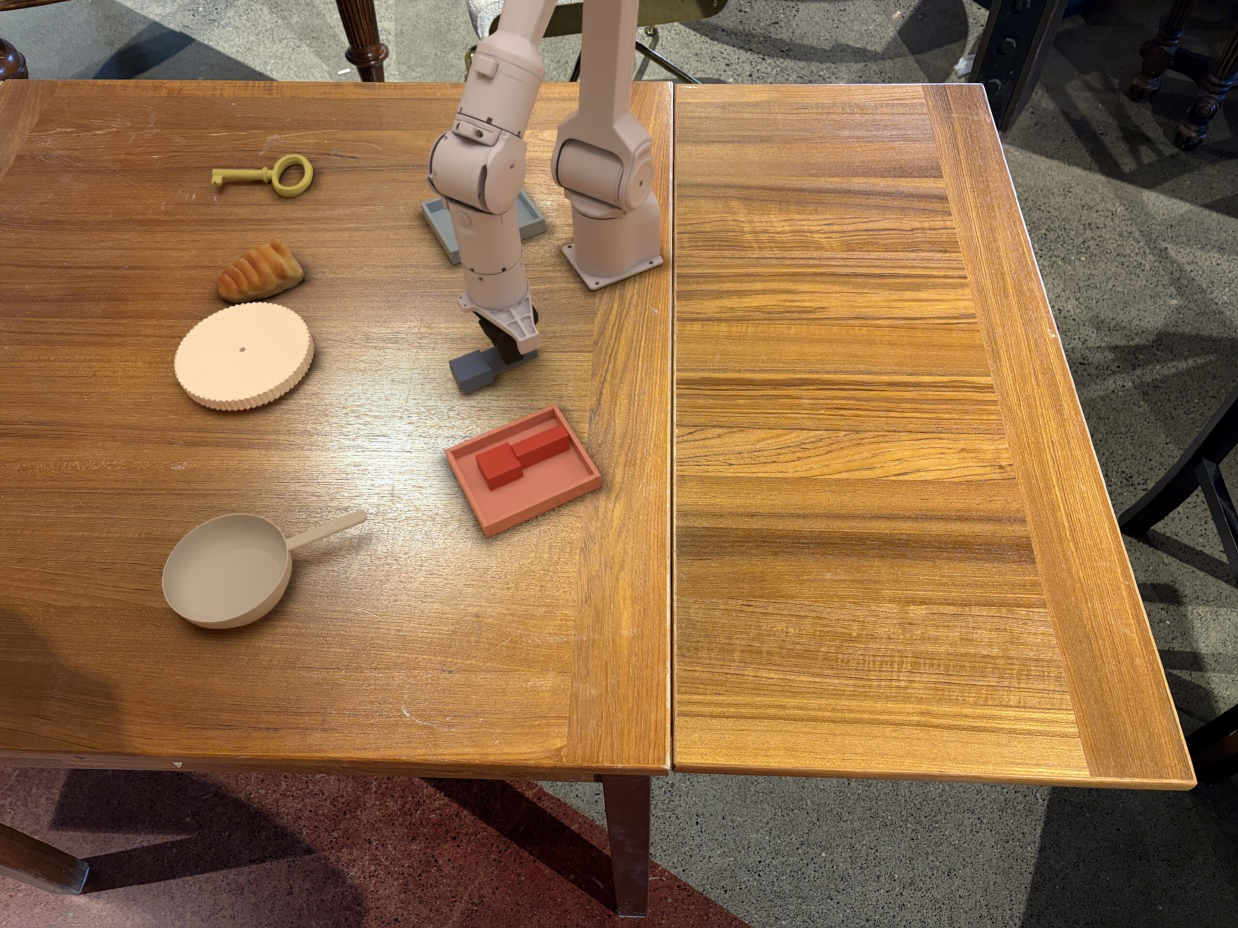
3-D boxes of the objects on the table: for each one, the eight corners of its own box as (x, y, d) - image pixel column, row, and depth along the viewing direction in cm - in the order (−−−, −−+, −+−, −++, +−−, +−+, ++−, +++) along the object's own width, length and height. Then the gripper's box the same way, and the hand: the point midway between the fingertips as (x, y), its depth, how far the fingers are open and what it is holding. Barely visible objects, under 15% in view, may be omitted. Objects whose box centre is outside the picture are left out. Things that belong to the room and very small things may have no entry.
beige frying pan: (171, 557, 83) (153, 536, 79) (362, 490, 86) (351, 468, 83) (188, 658, 77) (168, 639, 74) (391, 581, 81) (381, 561, 78)
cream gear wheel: (311, 307, 101) (304, 290, 99) (322, 398, 93) (315, 383, 91) (183, 334, 99) (173, 318, 97) (184, 430, 91) (173, 415, 89)
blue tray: (512, 185, 113) (510, 172, 111) (546, 231, 107) (544, 218, 106) (423, 215, 110) (420, 203, 108) (453, 265, 104) (450, 252, 103)
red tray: (557, 415, 91) (555, 403, 90) (601, 486, 86) (601, 475, 85) (447, 461, 88) (444, 449, 87) (487, 538, 83) (484, 527, 82)
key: (213, 183, 114) (206, 168, 112) (309, 158, 117) (304, 144, 115) (221, 217, 110) (214, 203, 109) (320, 191, 113) (315, 177, 111)
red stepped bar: (559, 432, 89) (557, 417, 88) (573, 455, 88) (572, 440, 86) (477, 467, 87) (474, 453, 85) (490, 491, 86) (487, 477, 84)
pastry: (236, 318, 100) (222, 293, 97) (210, 286, 103) (197, 261, 100) (311, 280, 103) (300, 255, 100) (284, 250, 107) (273, 225, 103)
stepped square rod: (528, 343, 96) (526, 327, 94) (541, 362, 94) (539, 347, 92) (451, 373, 94) (447, 358, 92) (463, 394, 92) (459, 379, 90)
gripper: (422, 222, 85) (448, 322, 96) (481, 319, 77) (502, 415, 88) (490, 198, 86) (508, 299, 98) (555, 290, 79) (566, 389, 90)
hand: (509, 353), depth 93 cm, fingers closed on stepped square rod, 1 cm apart
